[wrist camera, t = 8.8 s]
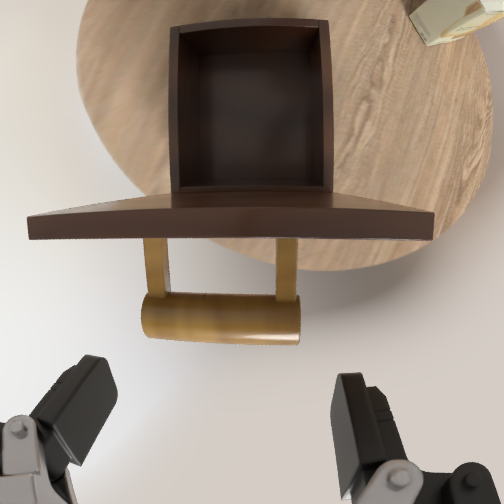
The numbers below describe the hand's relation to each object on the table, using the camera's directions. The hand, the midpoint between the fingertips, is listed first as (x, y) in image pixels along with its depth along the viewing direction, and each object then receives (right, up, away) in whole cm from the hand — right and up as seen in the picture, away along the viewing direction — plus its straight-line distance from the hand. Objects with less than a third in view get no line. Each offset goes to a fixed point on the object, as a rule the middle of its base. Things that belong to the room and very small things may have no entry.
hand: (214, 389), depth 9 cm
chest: (+2, +18, +19) cm, 26 cm away
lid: (0, +7, +6) cm, 9 cm away
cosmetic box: (+22, +30, +13) cm, 40 cm away
